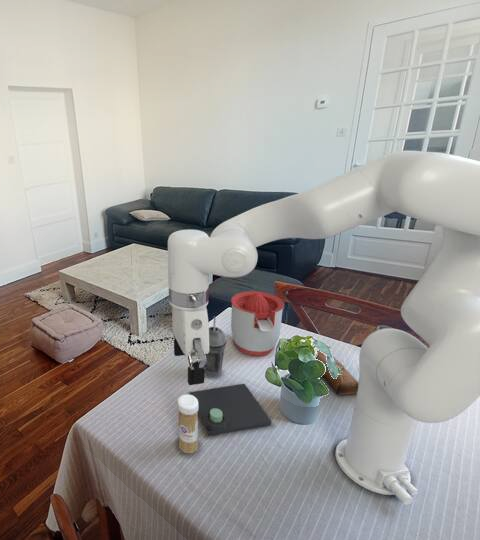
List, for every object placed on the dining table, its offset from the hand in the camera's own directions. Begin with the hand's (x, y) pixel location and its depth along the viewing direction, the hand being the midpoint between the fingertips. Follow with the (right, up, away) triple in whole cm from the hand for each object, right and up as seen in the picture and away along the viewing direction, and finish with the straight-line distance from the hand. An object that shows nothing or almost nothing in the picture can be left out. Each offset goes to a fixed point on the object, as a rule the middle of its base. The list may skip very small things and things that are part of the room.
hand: (188, 368), depth 71 cm
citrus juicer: (+31, -6, +41) cm, 52 cm away
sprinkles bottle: (+2, -21, +8) cm, 22 cm away
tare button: (+9, -16, +12) cm, 22 cm away
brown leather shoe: (+47, -10, +27) cm, 55 cm away
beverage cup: (+14, -11, +32) cm, 36 cm away
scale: (+14, -16, +17) cm, 27 cm away
